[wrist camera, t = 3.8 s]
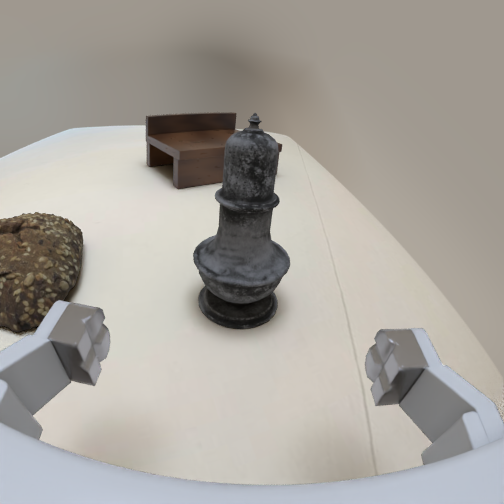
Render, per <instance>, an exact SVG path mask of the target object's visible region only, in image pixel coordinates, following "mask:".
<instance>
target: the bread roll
mask: <svg viewBox="0 0 504 504" xmlns="http://www.w3.org/2000/svg"><path fill="white" fill-rule="evenodd" d="M82 247H83V236H82V232H81V229H79V228H78V227H77V226H75V225H74V224H73V222H72V221H70V222H69V220H68V219H66V218H65V219H64V218H62V217H61V216H55V215H54V214H46V213H42V214H40V213H38V212H35V213H34V214H31V213H29V214H22V215H20V216H18V217H17V216H14V217H13V218H8V219H5V218H4V219H0V326H6V327H8V328H10V329H11V330H12V331H14V332H18V331H23V330H27V329H30V328H32V327H35V326H38V325H40V324H41V322H42V321H43V319H44V318H45V316H46V315H47V313H48V312H49V310H50V309H51V307H52V306H53V304H54V303H55V302H56V301H58V300H61V301H63V300H64V298H65V297H66V296H67V294H68V292H69V290H70V289H72V288H73V287H74V286H75V284H76V281H77V277H78V273H79V270H80V268H81V259H82V255H81V253H82Z"/></svg>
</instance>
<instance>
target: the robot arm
mask: <svg viewBox="0 0 504 504" xmlns="http://www.w3.org/2000/svg"><path fill="white" fill-rule="evenodd" d="M104 319H105V316H104V313H103V310H102V309H100V308H98V307H92V306H87V305H82V304H77V303H71V302H66V301H61V300H58V301H56V302H55V303H54V304H53V306H52V307H51V309H50V310H49V312H48V313H47V315H46V316H45V318H44V319H43V321H42V322H41V324H40V325H39V327H38V328H37V330H36V331H35V333H34V335H28V336H26V337H24V338H22V339H21V340H19V341H17V342H16V343H14V344H12V345H11V346H9V347H7V348H5V349H4V350H2V351H0V504H504V423H503V420H502V418H501V416H500V413H499V411H498V409H497V407H496V405H495V403H494V402H492V401H491V400H490V399H489V398H487V397H486V396H485V395H484V394H482V393H481V392H480V391H479V390H477V389H476V388H475V387H474V386H472V385H471V384H470V383H469V382H467V381H466V380H465V379H463V378H462V377H461V376H460V375H458V374H457V373H456V372H454V371H453V370H452V369H451V368H449V367H448V366H447V365H445V366H443V365H442V363H441V361H440V358H439V356H438V354H437V352H436V350H435V348H434V346H433V344H432V343H431V341H430V339H429V337H428V335H427V333H426V331H425V330H424V329H423V328H412V329H381V330H379V331H378V332H377V334H376V336H375V338H374V339H375V342H376V344H375V345H373V346H372V347H371V348H369V351H368V353H367V355H366V360H365V370H366V374H367V377H368V378H369V379H370V380H371V381H372V382H373V385H372V387H371V392H372V395H373V399H374V402H375V406H380V405H393V404H399V406H400V407H401V408H402V409H403V411H404V412H405V413H406V414H407V415H408V416H409V417H410V418H411V419H412V421H413V422H414V423H415V424H416V425H417V426H418V427H419V428H420V429H421V431H422V432H423V433H424V434H425V435H426V436H427V437H428V438H429V440H430V441H431V442H432V444H431V445H430V446H429V447H428V448H427V449H425V450H424V451H423V453H422V454H421V456H422V460H423V464H424V465H422V466H418V467H414V468H410V469H406V470H402V471H397V472H392V473H387V474H382V475H377V476H371V477H365V478H358V479H351V480H343V481H334V482H324V483H311V484H292V485H247V484H228V483H215V482H205V481H196V480H188V479H181V478H174V477H168V476H162V475H156V474H151V473H146V472H141V471H137V470H132V469H128V468H124V467H120V466H116V465H112V464H108V463H105V462H101V461H98V460H94V459H91V458H88V457H84V456H81V455H78V454H75V453H72V452H69V451H67V450H64V449H61V448H58V447H56V446H53V445H50V444H48V443H45V442H43V441H41V440H39V439H40V436H41V433H42V427H41V425H40V424H39V423H38V422H37V421H36V419H35V418H34V417H33V415H34V414H35V413H36V412H37V411H38V410H40V409H41V408H42V407H43V406H44V405H45V404H46V403H48V402H49V401H50V400H51V399H52V398H53V397H55V396H56V395H57V394H58V393H59V392H60V391H61V390H63V389H64V388H65V387H66V386H67V385H68V384H70V383H71V381H75V382H79V383H83V384H88V385H92V386H95V384H96V382H97V379H98V377H99V374H100V372H101V370H102V369H101V366H100V362H101V361H103V360H104V359H106V357H107V355H108V352H109V348H110V333H109V330H108V328H107V327H106V326H105V325H104V324H103V321H104Z"/></svg>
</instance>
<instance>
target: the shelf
mask: <svg viewBox="0 0 504 504" xmlns="http://www.w3.org/2000/svg"><path fill="white" fill-rule="evenodd" d="M235 123H236V113H232V112H221V113H220V112H214V113H183V114H166V115H152V116H146V142H147V165H148V166H149V167H152V166H159V165H166V164H174V175H173V185H174V186H175V187H176V188H178V189H180V188H187V187H193V186H199V185H206V184H212V183H219V182H223V169H224V154H225V145H226V141H227V140H228V139H229V138H230V136H231V135H233V134H235V133H236V132H239V130H235ZM277 144H278V151H279V152H281V150H282V144H280V143H277ZM279 152H278V159H279ZM277 167H278V160H277ZM276 175H277V168H276Z"/></svg>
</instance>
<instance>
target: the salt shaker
mask: <svg viewBox="0 0 504 504" xmlns="http://www.w3.org/2000/svg"><path fill="white" fill-rule="evenodd" d="M248 121H249V122H250V126H249V128H245V129H244V130H243V131H239V132H236V133H235V134H233V135H231V136H230V138H229V139H228V140H227V141H226V145H225V154H224V169H223V185H222V188H221V189H219V190H218V191H216V193H215V199H216V200H217V201H218V202H219V203H220V213H219V228H218V231H217V234H216V235H215V236H212V237H209V238H208V239H206V240H204V241H202V242H201V243H200V244H199V245H198V246H197V247H196V249H195V251H194V253H193V257H194V263H195V265H196V267H197V269H198V270H199V274H200V276H201V278H202V280H203V282H204V284H205V287H204V288H203V289H202V290H201V292H200V295H199V307H200V309H201V311H202V313H203V314H204V315H205V316H206V317H207V318H208V319H210V320H212V321H213V322H215V323H217V324H219V325H222V326H225V327H229V328H237V329H243V328H252V327H256V326H260V325H262V324H264V323H265V322H267V321H269V320H270V319H271V318H272V317H273V316H274V314H275V312H276V310H277V299H276V296H275V294H274V293H273V291H274V290H275V288H276V287H277V286H278V284H279V283H280V281H281V279H282V277H283V276H284V275H285V274H286V273H287V271H288V269H289V267H290V258H289V256H288V254H287V252H286V251H285V250H284V249H283V248H282V247H281V246H280V245H279V244H277V243H275V242H274V241H272V240H271V236H270V226H271V219H272V211H273V208H274V207H276V206H277V205H278V204H279V197H278V196H277V195H276V194H275V193H274V184H275V176H276V168H277V160H278V152H279V151H278V144H277V142H276V141H275V139H274V138H272V137H271V136H270V135H269V134H266V133H264V131H263V130H262V129H259V126H258V124H259V123H260V122H261V121H260V120H259V117H258V116H257V114H256V113H254V114H253V116H251V118H250V120H248Z"/></svg>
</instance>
